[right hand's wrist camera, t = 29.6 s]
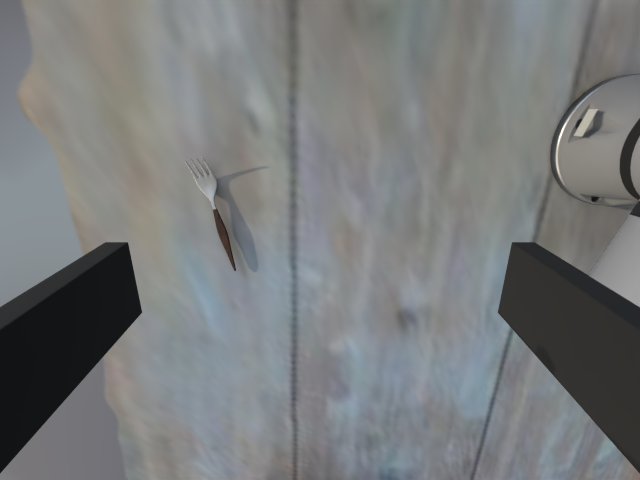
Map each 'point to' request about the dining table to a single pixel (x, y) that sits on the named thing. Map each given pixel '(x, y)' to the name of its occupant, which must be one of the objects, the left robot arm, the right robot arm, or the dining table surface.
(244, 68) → the dining table surface
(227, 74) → the dining table surface
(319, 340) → the dining table surface
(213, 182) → the fork
